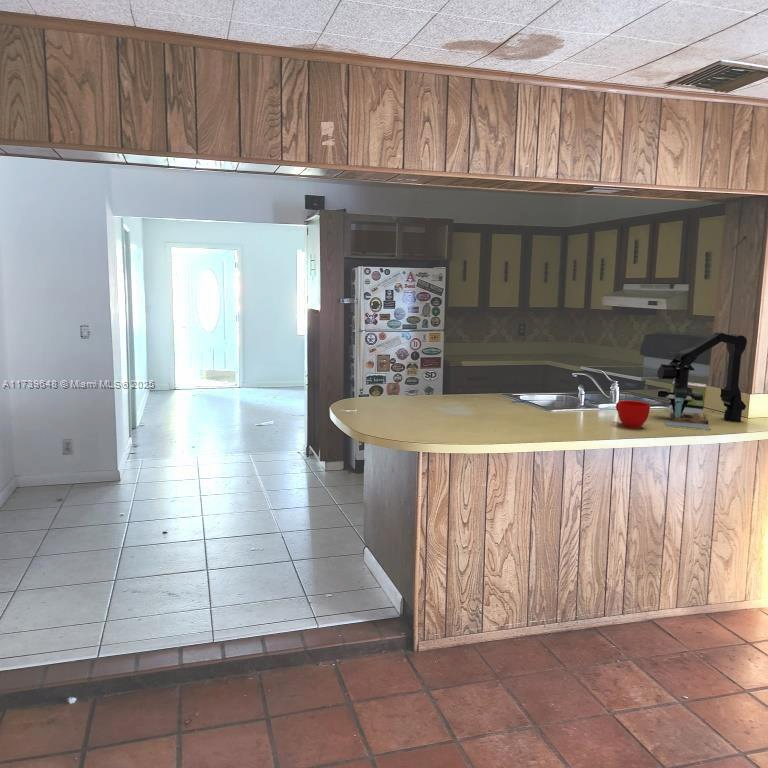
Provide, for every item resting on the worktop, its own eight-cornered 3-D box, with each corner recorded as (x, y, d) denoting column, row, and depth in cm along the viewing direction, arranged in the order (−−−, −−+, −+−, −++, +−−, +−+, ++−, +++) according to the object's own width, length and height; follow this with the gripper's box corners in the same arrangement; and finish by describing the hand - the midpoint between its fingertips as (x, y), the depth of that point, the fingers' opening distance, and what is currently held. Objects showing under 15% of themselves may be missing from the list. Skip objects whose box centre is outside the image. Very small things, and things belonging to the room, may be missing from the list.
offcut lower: (702, 419, 306) (702, 416, 305) (703, 422, 299) (703, 419, 299) (692, 418, 307) (692, 415, 307) (693, 421, 300) (694, 418, 300)
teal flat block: (678, 417, 309) (680, 400, 307) (679, 420, 302) (681, 403, 301) (674, 417, 309) (676, 400, 308) (675, 419, 303) (677, 402, 302)
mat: (708, 426, 294) (708, 424, 294) (710, 431, 285) (711, 429, 285) (664, 422, 300) (664, 420, 300) (665, 426, 291) (665, 424, 291)
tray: (704, 420, 307) (705, 416, 307) (707, 425, 296) (708, 421, 296) (669, 416, 312) (670, 412, 312) (671, 421, 301) (671, 417, 301)
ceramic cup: (626, 420, 301) (629, 398, 299) (654, 429, 285) (657, 406, 283) (603, 421, 296) (605, 399, 294) (630, 430, 280) (632, 407, 279)
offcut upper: (701, 416, 305) (702, 413, 305) (703, 419, 299) (703, 416, 299) (693, 416, 306) (693, 412, 306) (694, 418, 301) (695, 415, 300)
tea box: (667, 412, 323) (671, 382, 320) (669, 409, 332) (673, 380, 329) (702, 417, 316) (706, 386, 314) (703, 413, 325) (707, 383, 322)
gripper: (659, 380, 299) (656, 414, 301) (705, 384, 292) (701, 419, 295) (658, 377, 309) (655, 410, 311) (703, 380, 303) (699, 414, 305)
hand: (677, 413), depth 305 cm, fingers open, 3 cm apart
